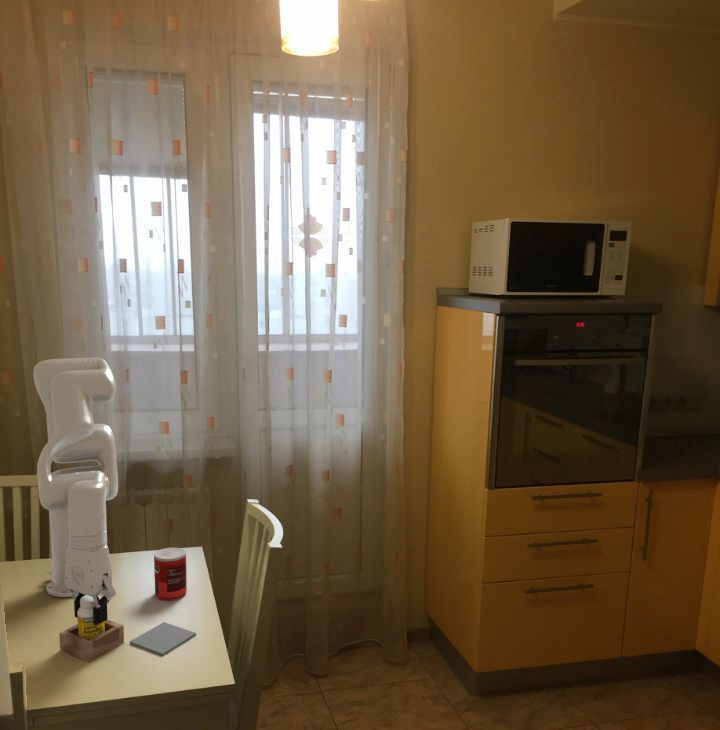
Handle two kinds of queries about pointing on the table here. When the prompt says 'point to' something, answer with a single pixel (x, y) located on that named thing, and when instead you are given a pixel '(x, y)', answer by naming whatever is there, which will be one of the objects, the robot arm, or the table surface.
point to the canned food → (170, 573)
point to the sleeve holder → (91, 641)
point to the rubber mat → (163, 638)
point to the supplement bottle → (88, 619)
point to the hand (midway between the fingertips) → (91, 617)
